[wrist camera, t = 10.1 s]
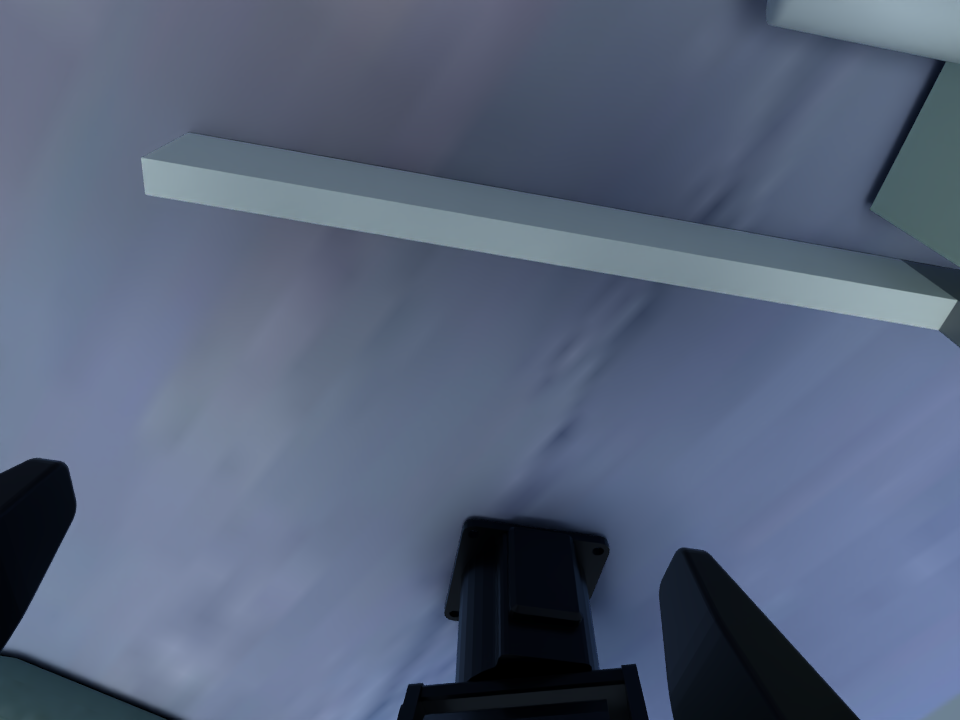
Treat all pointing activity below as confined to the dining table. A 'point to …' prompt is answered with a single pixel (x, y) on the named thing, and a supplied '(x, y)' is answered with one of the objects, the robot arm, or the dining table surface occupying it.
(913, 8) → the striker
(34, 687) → the tea set
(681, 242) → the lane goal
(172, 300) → the dining table surface
